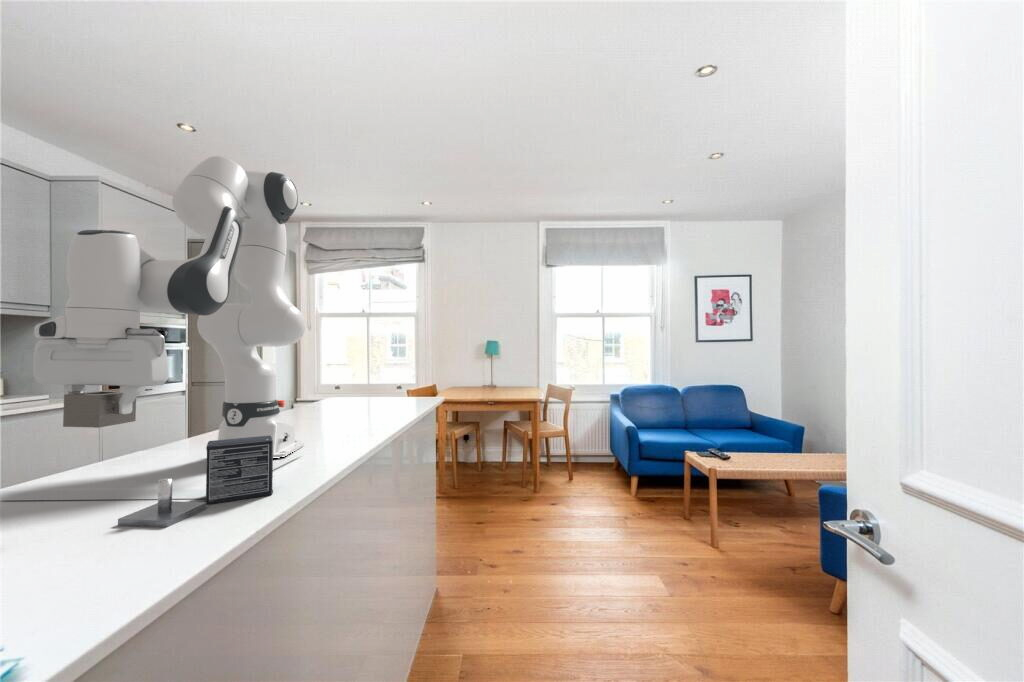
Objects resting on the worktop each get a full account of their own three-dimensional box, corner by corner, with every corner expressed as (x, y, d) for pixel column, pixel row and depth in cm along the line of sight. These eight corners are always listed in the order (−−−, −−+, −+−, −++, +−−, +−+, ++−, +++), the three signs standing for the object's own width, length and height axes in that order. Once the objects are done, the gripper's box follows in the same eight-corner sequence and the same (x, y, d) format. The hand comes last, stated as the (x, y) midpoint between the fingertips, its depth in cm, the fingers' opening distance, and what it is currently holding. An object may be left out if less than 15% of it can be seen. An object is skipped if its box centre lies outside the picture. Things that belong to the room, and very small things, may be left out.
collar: (102, 420, 73) (103, 390, 73) (135, 421, 73) (136, 391, 73) (63, 426, 67) (64, 394, 67) (98, 427, 67) (99, 395, 67)
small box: (270, 486, 87) (272, 433, 87) (273, 495, 81) (274, 439, 82) (206, 495, 81) (208, 439, 81) (204, 505, 76) (206, 446, 76)
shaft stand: (162, 506, 75) (163, 472, 75) (206, 508, 74) (207, 473, 75) (117, 525, 67) (118, 486, 67) (166, 527, 66) (167, 488, 67)
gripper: (180, 329, 73) (178, 411, 72) (68, 328, 74) (65, 409, 74) (145, 327, 66) (143, 417, 66) (24, 326, 68) (21, 414, 68)
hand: (101, 413), depth 70 cm, fingers closed on collar, 6 cm apart
